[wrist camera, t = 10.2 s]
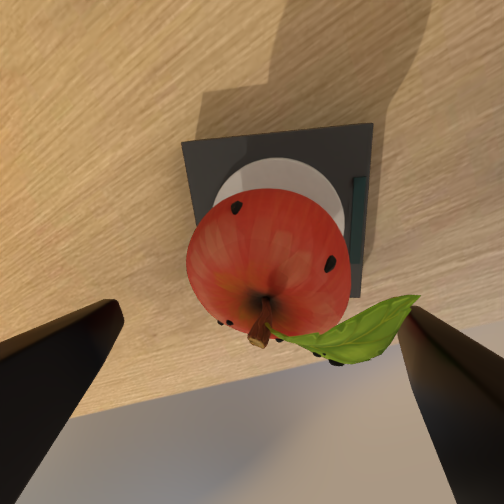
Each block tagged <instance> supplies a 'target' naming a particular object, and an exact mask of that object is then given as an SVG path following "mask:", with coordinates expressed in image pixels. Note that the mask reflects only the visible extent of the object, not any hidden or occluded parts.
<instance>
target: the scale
mask: <svg viewBox="0 0 504 504" xmlns="http://www.w3.org/2000/svg"><path fill="white" fill-rule="evenodd" d="M373 125H374V124H373V123H360V124H350V125H340V126H331V127H321V128H311V129H301V130H291V131H281V132H271V133H262V134H252V135H242V136H232V137H222V138H212V139H202V140H193V141H186V142H181V145H182V150H183V156H184V161H185V167H186V172H187V177H188V183H189V188H190V193H191V199H192V204H193V209H194V215H195V220H196V225H197V226H198V224H199V223H200V221H201V220H202V219H203V217H204V216H205V215H206V214H207V213H208V212H209V211H210V210H211V209H212V208H213V207H214V206H215V205H217V204H218V203H219V202H221V201H222V200H224V199H226V198H228V197H230V196H232V195H235V194H237V193H240V192H243V191H248V190H253V189H262V188H273V189H283V190H288V191H292V192H295V193H298V194H301V195H303V196H306V197H308V198H309V199H311V200H313V201H314V202H316V203H317V204H319V205H320V206H321V207H322V208H323V209H324V210H326V211H327V213H328V214H329V215H330V216H331V217H332V219H333V220H334V221H335V223H336V224H337V226H338V228H339V229H340V231H341V233H342V235H343V238H344V240H345V243H346V246H347V250H348V254H349V260H350V268H351V291H350V297H349V298H360V293H361V280H362V267H363V254H364V241H365V229H366V216H367V203H368V190H369V177H370V164H371V151H372V138H373Z"/></svg>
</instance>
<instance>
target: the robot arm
mask: <svg viewBox="0 0 504 504" xmlns="http://www.w3.org/2000/svg"><path fill="white" fill-rule="evenodd" d="M410 308H411V309H412V310H411V311H410V312H409V314H408V315H407V316H406V318H405V319H404V321H403V323H402V325H401V327H400V328H399V330H398V332H397V334H398V339H399V343H400V346H401V351H402V354H403V358H404V362H405V366H406V370H407V373H408V377H409V381H410V384H411V387H412V390H413V393H414V396H415V399H416V401H417V404H418V406H419V409H420V411H421V414H422V416H423V419H424V422H425V424H426V427H427V429H428V432H429V434H430V437H431V439H432V442H433V444H434V447H435V449H436V452H437V454H438V457H439V460H440V462H441V465H442V467H443V470H444V472H445V475H446V477H447V480H448V482H449V485H450V487H451V490H452V492H453V495H454V498H455V500H456V503H457V504H504V358H502V357H500V356H499V355H497V354H496V353H494V352H492V351H491V350H489V349H487V348H486V347H484V346H482V345H481V344H479V343H478V342H476V341H474V340H473V339H471V338H470V337H468V336H466V335H464V334H463V333H461V332H460V331H458V330H457V329H455V328H453V327H452V326H450V325H448V324H447V323H445V322H444V321H442V320H440V319H439V318H437V317H435V316H434V315H432V314H431V313H429V312H427V311H426V310H424V309H422V308H421V307H419V306H411V307H410ZM123 325H124V317H123V314H122V311H121V308H120V305H119V303H118V301H117V300H115V299H103V300H101V301H98V302H96V303H94V304H91V305H89V306H86V307H84V308H82V309H79V310H77V311H74V312H72V313H70V314H67V315H65V316H62V317H60V318H58V319H55V320H53V321H50V322H48V323H46V324H43V325H41V326H39V327H36V328H34V329H31V330H29V331H27V332H24V333H22V334H19V335H17V336H15V337H12V338H10V339H7V340H5V341H3V342H0V504H15V502H16V501H17V499H18V498H19V496H20V495H21V493H22V491H23V490H24V488H25V487H26V485H27V484H28V482H29V480H30V479H31V477H32V476H33V474H34V473H35V471H36V469H37V468H38V466H39V465H40V463H41V462H42V460H43V458H44V457H45V455H46V454H47V452H48V451H49V449H50V447H51V446H52V444H53V443H54V441H55V440H56V438H57V436H58V435H59V433H60V431H61V430H62V429H63V427H64V426H65V424H66V422H67V421H68V419H69V418H70V416H71V415H72V413H73V411H74V410H75V408H76V407H77V405H78V404H79V402H80V401H81V399H82V397H83V396H84V394H85V393H86V391H87V390H88V388H89V386H90V385H91V383H92V382H93V380H94V379H95V377H96V375H97V374H98V372H99V371H100V369H101V367H102V366H103V364H104V362H105V360H106V358H107V356H108V355H109V353H110V351H111V349H112V347H113V345H114V343H115V341H116V339H117V337H118V335H119V333H120V331H121V330H122V328H123Z"/></svg>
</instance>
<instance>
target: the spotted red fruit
mask: <svg viewBox="0 0 504 504" xmlns="http://www.w3.org/2000/svg"><path fill="white" fill-rule="evenodd" d="M186 267H187V274H188V278H189V281H190V284H191V286H192V289H193V291H194V293H195V294H196V296H197V298H198V299H199V301H200V302H201V304H202V305H203V306H204V308H205V309H206V310H207V311H208V312H209V313H210V314H211V315H212V316H213V317H214V318H216V319H217V320H218V324H220V325H221V326H222V325H224V324H225V325H227V326H229V327H231V328H233V329H235V330H238V331H241V332H244V333H247V334H248V337H247V339H248V340H249V342H250V343H251V344H252V345H255V346H258V347H260V348H262V349H264V348H265V347H266V346H267V344H268V341H269V338H270V339H276V341H277V342H282V341H284V340H285V341H287V342H291V343H296V344H298V345H299V346H301V347H303V348H305V349H307V350H309V351H311V352H313V355H314V356H316V357H324V358H326V359H328V360H329V363H330V364H331V365H334V366H343V365H344V364H356V363H360V362H364V361H369V360H370V359H371V358H374V357H376V356H379V355H381V354H382V353H383V352H384V351H385V349H386V348H387V347H388V346H389V345H390V344H391V342H392V340H393V339H394V337H395V335H396V334H397V332H398V330H399V328H400V327H401V325H402V323H403V321H404V319H405V318H406V316H407V315H408V314H409V312H410V311H411V310H412V309H411V308H410V307H411V306H412V305H413V303H414V302H415V301H416V300H417V299H418V298H419V297H420V296H421V295H404V296H398V297H393V298H390V299H387V300H385V301H382V302H380V303H378V304H376V305H374V306H372V307H370V308H368V309H366V310H365V311H363V312H361V313H359V314H357V315H355V316H354V317H352V318H350V319H348V320H346V321H344V322H342V323H340V324H338V322H339V321H340V319H341V318H342V316H343V314H344V312H345V310H346V307H347V305H348V301H349V297H350V291H351V268H350V260H349V254H348V250H347V246H346V243H345V240H344V238H343V235H342V233H341V231H340V229H339V228H338V226H337V224H336V223H335V221H334V220H333V219H332V217H331V216H330V215H329V214H328V213H327V211H326V210H324V209H323V208H322V207H321V206H320V205H319V204H317V203H316V202H314V201H313V200H311V199H309V198H308V197H306V196H303V195H301V194H298V193H295V192H292V191H288V190H283V189H273V188H262V189H253V190H248V191H243V192H240V193H237V194H235V195H232V196H230V197H228V198H226V199H224V200H222V201H221V202H219V203H218V204H217V205H215V206H214V207H213V208H212V209H211V210H210V211H209V212H208V213H207V214H206V215H205V216H204V217H203V219H202V220H201V221H200V223H199V224H198V226H197V228H196V229H195V231H194V233H193V235H192V238H191V240H190V243H189V246H188V251H187V257H186ZM337 324H338V325H337ZM336 325H337V326H336Z"/></svg>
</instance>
